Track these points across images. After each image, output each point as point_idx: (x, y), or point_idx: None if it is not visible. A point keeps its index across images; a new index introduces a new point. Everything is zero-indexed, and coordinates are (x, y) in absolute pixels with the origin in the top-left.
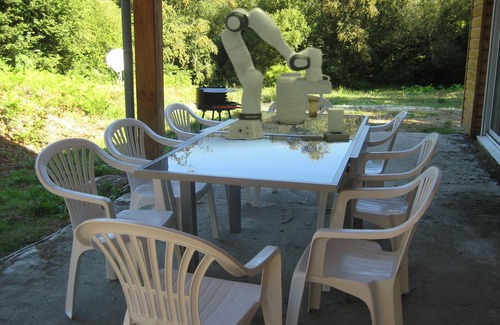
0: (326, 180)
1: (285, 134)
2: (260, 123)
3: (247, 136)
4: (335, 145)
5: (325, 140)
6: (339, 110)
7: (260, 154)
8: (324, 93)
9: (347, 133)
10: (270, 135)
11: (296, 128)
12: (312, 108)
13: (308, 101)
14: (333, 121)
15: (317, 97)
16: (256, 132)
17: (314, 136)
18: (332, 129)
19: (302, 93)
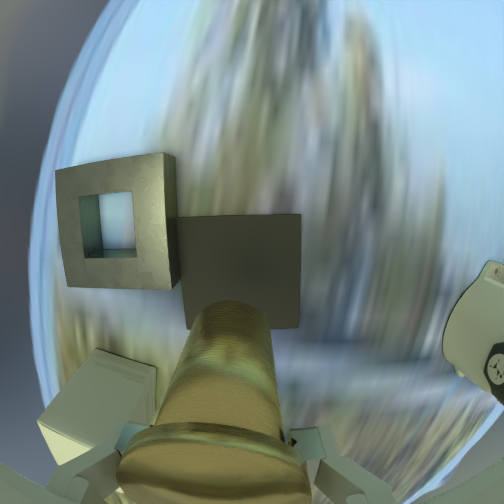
0: None
1: (350, 385)
2: (494, 337)
3: (502, 282)
4: (151, 84)
5: (176, 208)
6: (54, 426)
7: (452, 8)
8: (8, 474)
9: (58, 210)
10: (413, 361)
11: None
12: (239, 351)
13: (299, 438)
14: (107, 398)
15: (130, 461)
16: (492, 290)
17: None
18: (126, 374)
19: (456, 501)
